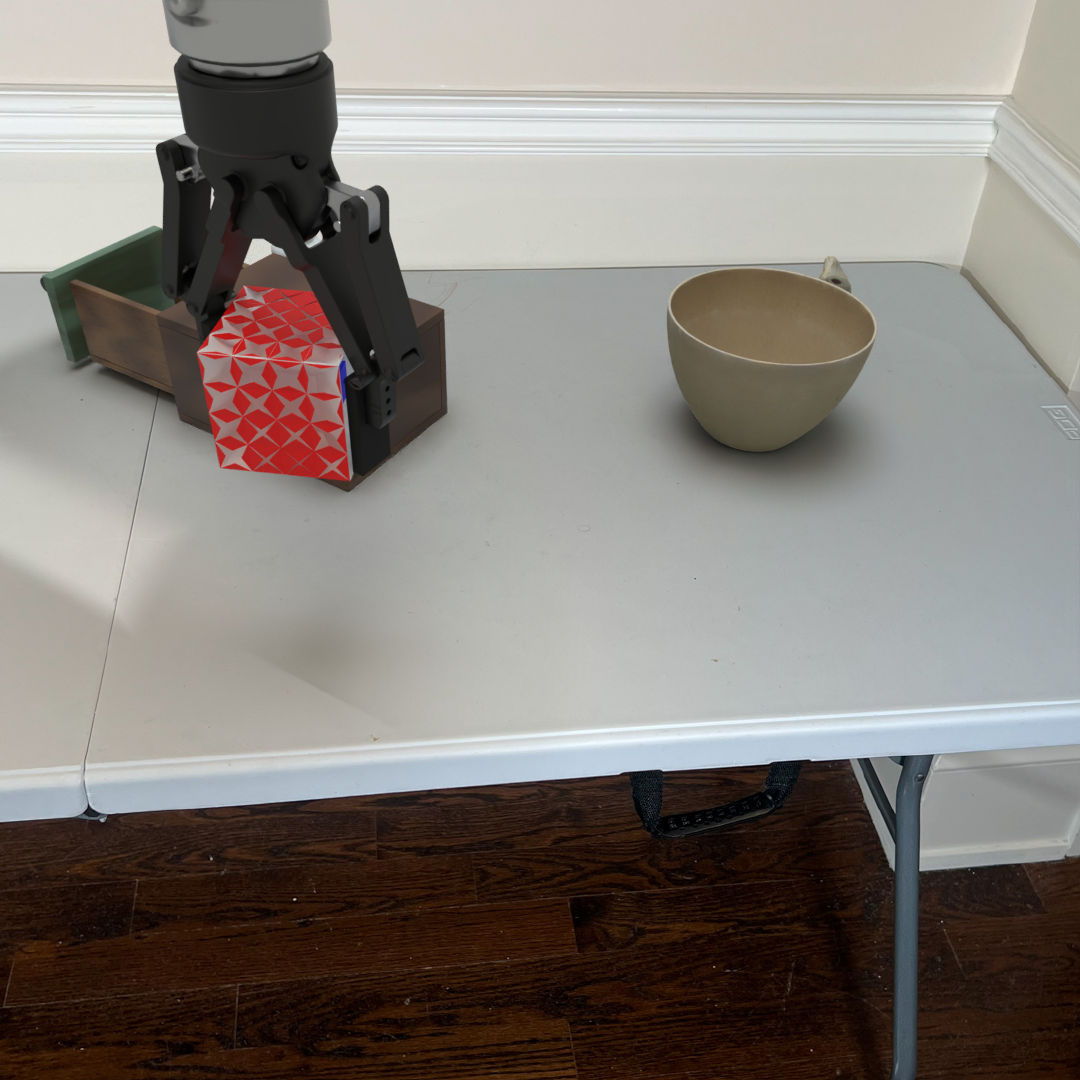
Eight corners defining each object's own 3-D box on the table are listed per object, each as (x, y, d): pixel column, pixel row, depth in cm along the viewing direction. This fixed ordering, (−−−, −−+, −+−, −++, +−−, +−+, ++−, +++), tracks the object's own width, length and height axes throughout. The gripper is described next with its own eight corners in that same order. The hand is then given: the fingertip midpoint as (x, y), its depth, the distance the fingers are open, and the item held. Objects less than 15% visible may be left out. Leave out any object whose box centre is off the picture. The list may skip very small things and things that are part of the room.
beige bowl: (871, 483, 91) (907, 364, 84) (670, 486, 90) (687, 365, 82) (816, 376, 105) (842, 265, 97) (640, 377, 104) (653, 264, 96)
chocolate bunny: (860, 344, 110) (883, 257, 104) (808, 364, 107) (829, 275, 100) (822, 323, 114) (842, 236, 107) (770, 341, 110) (788, 253, 104)
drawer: (32, 345, 103) (5, 261, 97) (137, 292, 112) (118, 213, 106) (207, 418, 94) (189, 331, 88) (306, 355, 103) (295, 272, 97)
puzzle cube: (261, 396, 67) (243, 285, 62) (380, 407, 67) (372, 296, 62) (219, 469, 61) (196, 353, 56) (349, 482, 61) (338, 366, 56)
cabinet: (179, 419, 95) (155, 314, 88) (287, 352, 105) (273, 252, 98) (348, 492, 88) (336, 383, 81) (447, 411, 98) (444, 308, 91)
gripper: (27, 26, 51) (125, 403, 66) (395, 126, 43) (415, 532, 57) (143, -4, 56) (211, 353, 71) (493, 81, 48) (488, 465, 62)
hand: (302, 433), depth 64 cm, fingers closed on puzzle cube, 10 cm apart
